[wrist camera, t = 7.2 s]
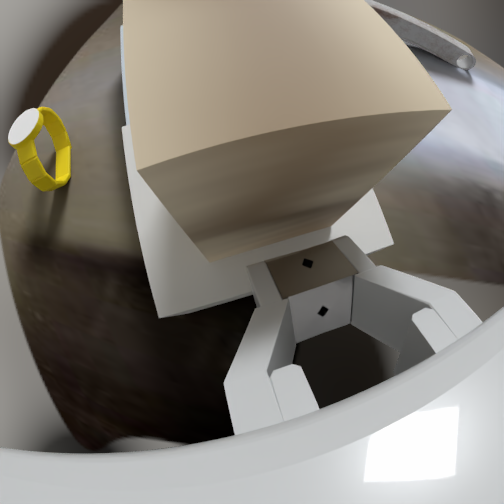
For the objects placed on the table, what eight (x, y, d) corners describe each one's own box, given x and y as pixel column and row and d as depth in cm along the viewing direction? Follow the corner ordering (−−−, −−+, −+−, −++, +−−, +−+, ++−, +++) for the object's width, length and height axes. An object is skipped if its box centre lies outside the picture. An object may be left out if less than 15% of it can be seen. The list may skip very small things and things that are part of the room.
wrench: (455, 84, 25) (200, 22, 20) (450, 74, 25) (202, 13, 21) (492, 50, 17) (204, -47, 13) (485, 40, 17) (207, -53, 13)
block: (289, 123, 12) (327, -31, 4) (331, 225, 12) (452, 109, 4) (180, 151, 12) (123, -4, 4) (209, 262, 11) (137, 170, 3)
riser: (298, 137, 19) (317, 79, 13) (347, 263, 17) (393, 243, 11) (153, 176, 18) (121, 126, 12) (187, 313, 17) (159, 318, 11)
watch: (53, 143, 19) (16, 102, 13) (80, 130, 19) (46, 84, 13) (49, 206, 17) (-1, 170, 12) (79, 193, 18) (31, 151, 12)
